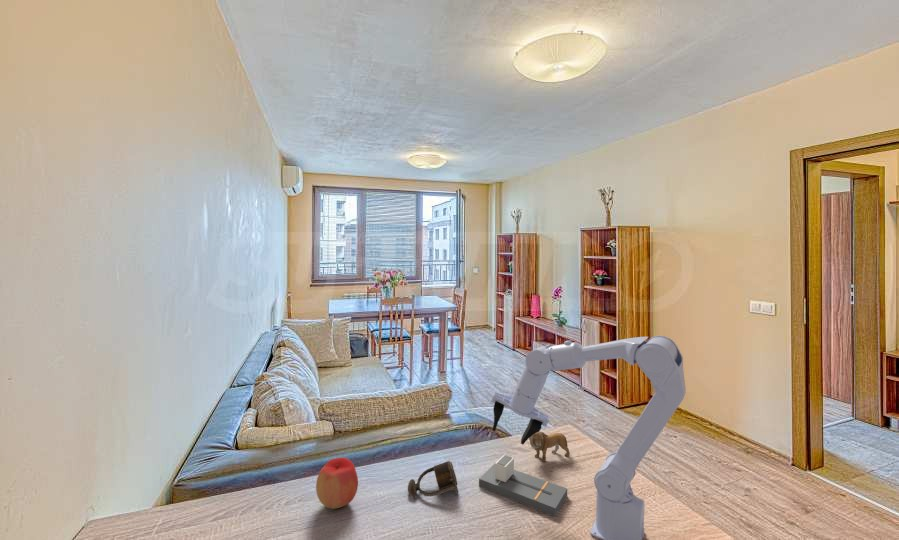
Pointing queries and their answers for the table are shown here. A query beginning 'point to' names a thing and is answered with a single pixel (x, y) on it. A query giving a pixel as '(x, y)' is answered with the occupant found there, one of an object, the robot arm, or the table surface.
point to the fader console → (526, 490)
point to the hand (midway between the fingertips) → (508, 435)
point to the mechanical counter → (443, 477)
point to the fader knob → (504, 468)
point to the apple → (337, 483)
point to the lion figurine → (548, 443)
